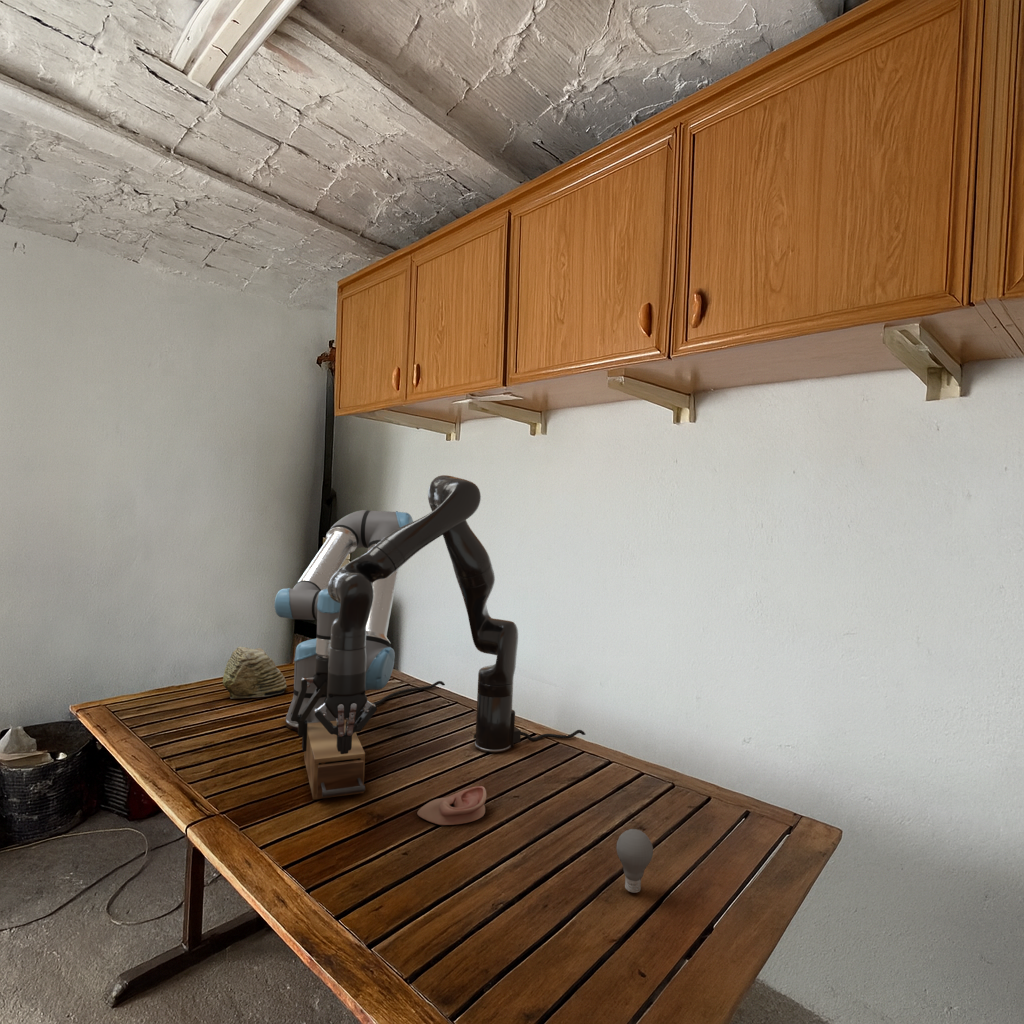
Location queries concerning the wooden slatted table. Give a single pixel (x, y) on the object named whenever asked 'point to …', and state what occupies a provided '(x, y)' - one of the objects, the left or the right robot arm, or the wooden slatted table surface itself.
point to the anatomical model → (456, 807)
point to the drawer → (340, 778)
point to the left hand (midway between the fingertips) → (328, 746)
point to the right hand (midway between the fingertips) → (343, 752)
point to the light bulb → (634, 857)
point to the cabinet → (326, 751)
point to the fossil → (252, 674)
